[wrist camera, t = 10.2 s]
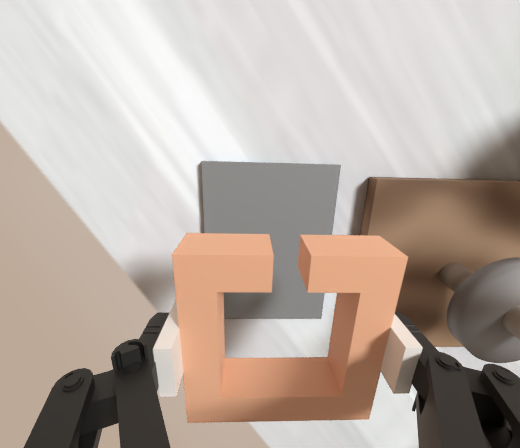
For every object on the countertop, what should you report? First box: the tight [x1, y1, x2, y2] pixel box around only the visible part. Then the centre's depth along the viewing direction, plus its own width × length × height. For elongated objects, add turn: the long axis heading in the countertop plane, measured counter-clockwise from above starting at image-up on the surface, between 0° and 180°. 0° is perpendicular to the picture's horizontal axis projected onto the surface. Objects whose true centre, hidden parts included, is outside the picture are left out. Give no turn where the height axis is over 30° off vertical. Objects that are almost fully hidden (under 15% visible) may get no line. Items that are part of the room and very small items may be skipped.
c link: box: [172, 233, 408, 423], centre depth 13 cm, size 10×10×2 cm
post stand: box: [360, 177, 520, 363], centre depth 19 cm, size 18×18×15 cm
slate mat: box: [201, 161, 341, 319], centre depth 24 cm, size 16×12×1 cm
